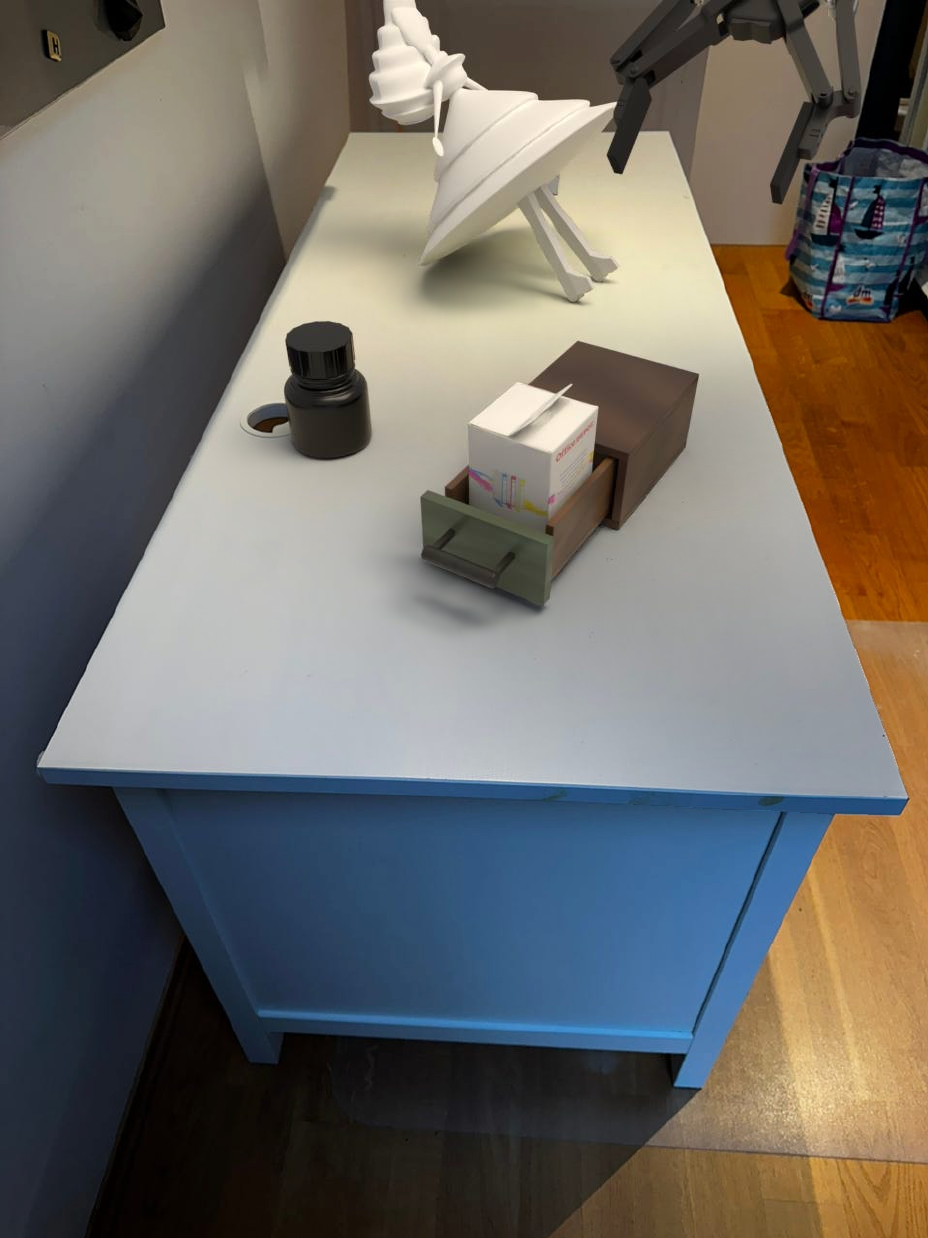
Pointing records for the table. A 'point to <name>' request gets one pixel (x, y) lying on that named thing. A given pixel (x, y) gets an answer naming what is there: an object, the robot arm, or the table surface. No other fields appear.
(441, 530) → the drawer
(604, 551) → the table surface
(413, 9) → the figurine
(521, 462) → the ink box
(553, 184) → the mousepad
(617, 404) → the cabinet
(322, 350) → the ink bottle
